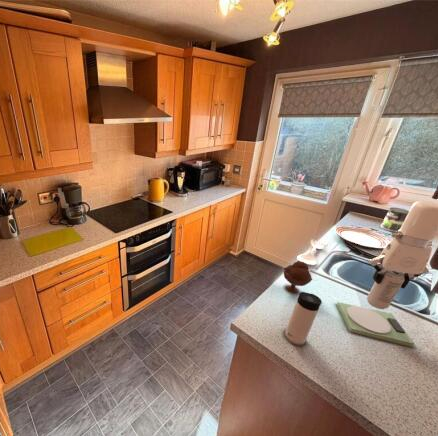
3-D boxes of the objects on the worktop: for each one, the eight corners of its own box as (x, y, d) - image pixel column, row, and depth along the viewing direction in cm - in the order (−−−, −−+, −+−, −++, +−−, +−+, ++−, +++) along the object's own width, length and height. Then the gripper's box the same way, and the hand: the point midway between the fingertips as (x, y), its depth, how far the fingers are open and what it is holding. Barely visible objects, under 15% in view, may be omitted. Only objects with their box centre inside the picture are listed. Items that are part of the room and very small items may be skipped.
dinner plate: (387, 239, 149) (390, 234, 147) (390, 257, 130) (392, 252, 129) (335, 226, 165) (336, 222, 164) (330, 240, 147) (332, 236, 145)
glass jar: (391, 232, 157) (401, 213, 151) (376, 225, 166) (385, 207, 160) (405, 231, 158) (415, 212, 152) (389, 225, 167) (398, 207, 161)
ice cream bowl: (274, 281, 112) (282, 255, 105) (299, 283, 110) (308, 257, 104) (283, 297, 102) (292, 269, 96) (310, 299, 101) (321, 272, 94)
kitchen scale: (389, 317, 92) (392, 312, 91) (411, 347, 80) (415, 342, 79) (336, 305, 98) (338, 300, 97) (349, 332, 86) (352, 327, 85)
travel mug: (286, 343, 82) (302, 301, 73) (283, 328, 87) (297, 287, 79) (306, 349, 80) (325, 306, 71) (302, 333, 85) (319, 292, 77)
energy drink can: (379, 299, 88) (397, 267, 81) (391, 311, 82) (412, 278, 76) (361, 297, 88) (378, 265, 82) (372, 309, 83) (391, 276, 77)
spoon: (327, 247, 139) (329, 242, 138) (312, 270, 119) (314, 264, 118) (310, 242, 145) (312, 237, 144) (293, 262, 125) (295, 257, 124)
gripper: (385, 240, 73) (362, 284, 81) (459, 250, 68) (427, 296, 75) (373, 229, 79) (353, 271, 87) (440, 238, 74) (412, 282, 82)
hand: (388, 283), depth 81 cm, fingers closed on energy drink can, 6 cm apart
